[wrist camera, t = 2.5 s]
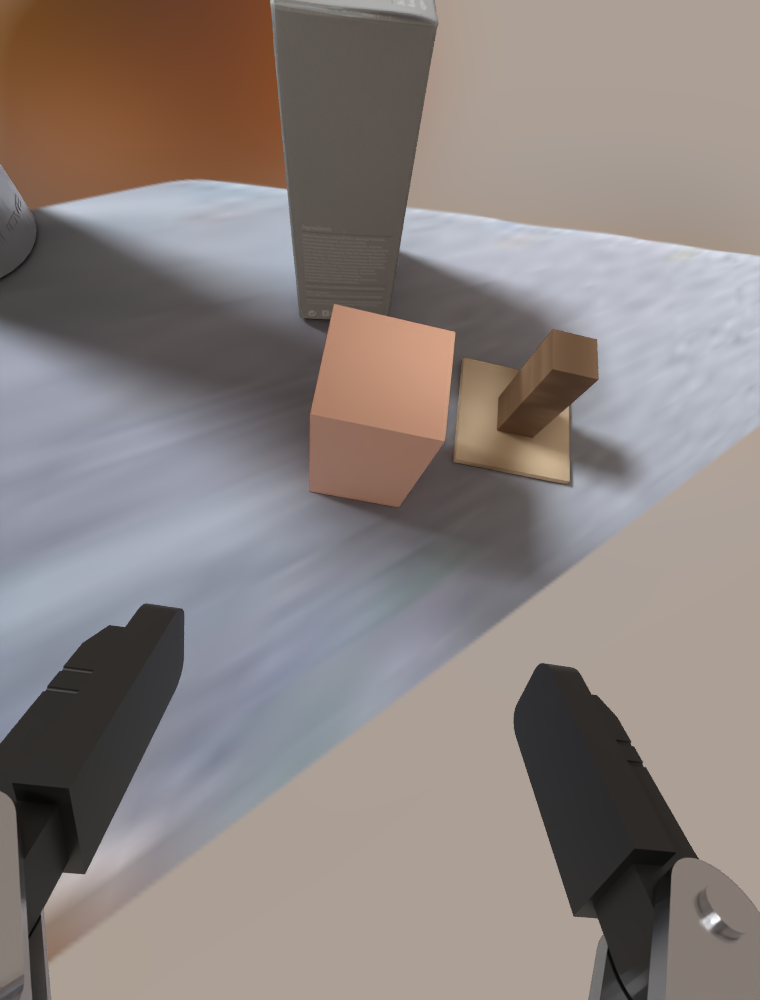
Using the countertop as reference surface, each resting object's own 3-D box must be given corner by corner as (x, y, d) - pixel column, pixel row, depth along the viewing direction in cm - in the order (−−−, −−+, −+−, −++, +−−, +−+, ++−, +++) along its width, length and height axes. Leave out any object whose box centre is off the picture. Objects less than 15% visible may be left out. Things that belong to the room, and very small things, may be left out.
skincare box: (387, 327, 31) (462, 33, 16) (286, 320, 29) (263, -6, 14) (381, 237, 33) (440, -90, 18) (287, 227, 32) (269, -131, 17)
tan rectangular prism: (309, 491, 26) (310, 414, 17) (325, 411, 28) (334, 303, 19) (398, 507, 26) (445, 441, 18) (408, 428, 28) (455, 332, 19)
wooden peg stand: (452, 462, 28) (501, 402, 21) (461, 361, 31) (507, 279, 24) (565, 484, 29) (648, 434, 22) (564, 384, 31) (638, 311, 24)
